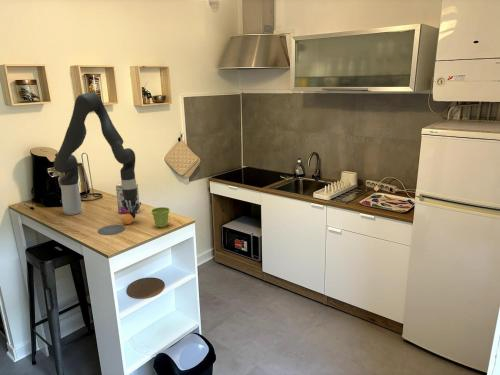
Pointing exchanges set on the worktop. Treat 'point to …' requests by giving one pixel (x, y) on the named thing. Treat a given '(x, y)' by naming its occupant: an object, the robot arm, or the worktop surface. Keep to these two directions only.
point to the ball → (127, 218)
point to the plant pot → (160, 216)
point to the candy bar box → (120, 197)
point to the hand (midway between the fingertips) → (132, 218)
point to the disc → (111, 230)
